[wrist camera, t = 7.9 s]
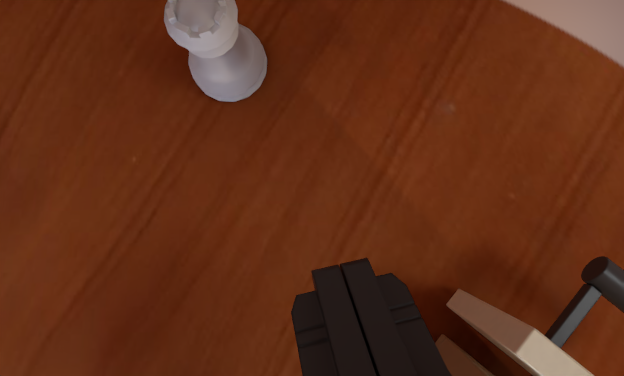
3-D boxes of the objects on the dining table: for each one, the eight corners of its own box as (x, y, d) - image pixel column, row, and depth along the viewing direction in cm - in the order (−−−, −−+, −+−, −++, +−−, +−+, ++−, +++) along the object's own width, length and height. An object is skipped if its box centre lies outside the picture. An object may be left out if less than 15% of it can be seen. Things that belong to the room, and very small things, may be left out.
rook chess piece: (224, 15, 27) (186, -68, 19) (283, 60, 27) (270, -6, 19) (178, 74, 27) (119, 15, 19) (237, 119, 27) (204, 78, 19)
